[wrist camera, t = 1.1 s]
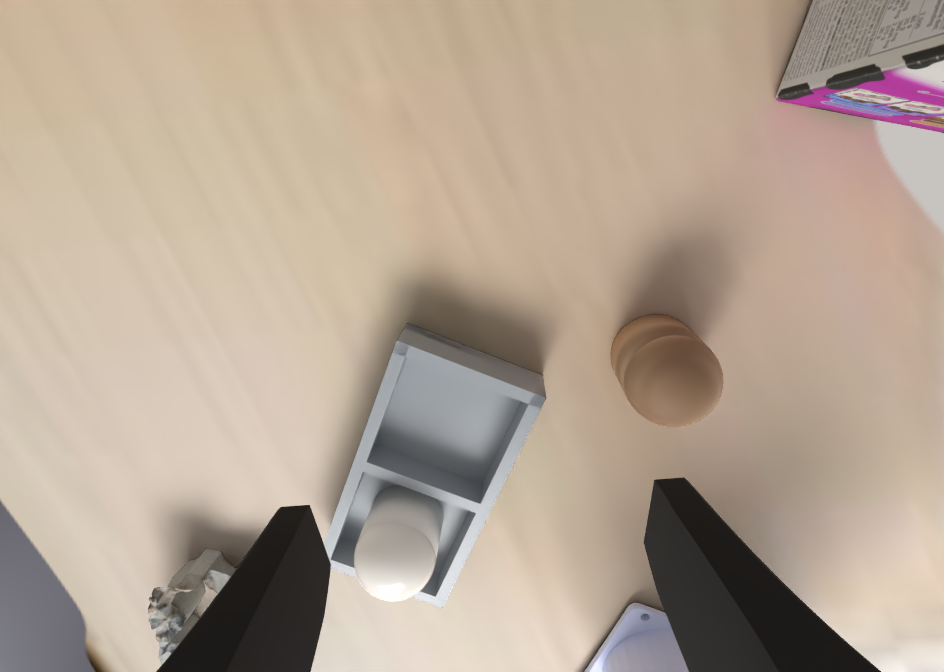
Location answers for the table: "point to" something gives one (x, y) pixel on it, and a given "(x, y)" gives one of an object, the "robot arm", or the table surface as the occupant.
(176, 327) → the table surface
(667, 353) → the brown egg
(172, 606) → the egg carton
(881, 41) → the candy bar box
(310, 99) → the table surface
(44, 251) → the table surface
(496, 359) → the holder
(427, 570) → the cream egg
